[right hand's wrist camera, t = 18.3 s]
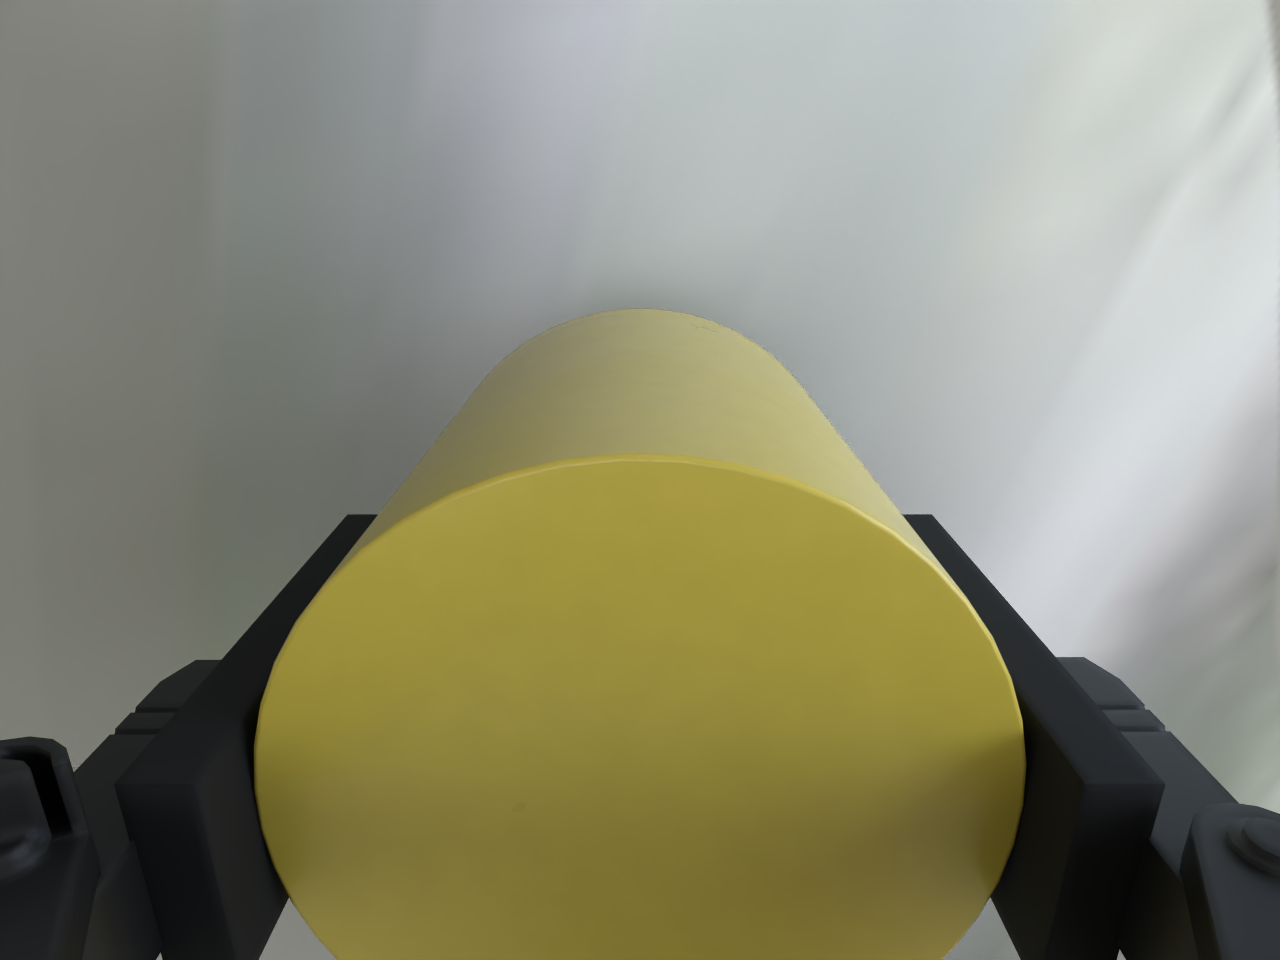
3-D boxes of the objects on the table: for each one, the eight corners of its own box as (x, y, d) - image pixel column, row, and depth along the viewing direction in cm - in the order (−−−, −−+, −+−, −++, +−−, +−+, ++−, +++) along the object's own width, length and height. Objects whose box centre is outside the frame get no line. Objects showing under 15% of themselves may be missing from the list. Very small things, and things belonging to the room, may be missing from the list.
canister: (828, 668, 19) (984, 1071, 10) (466, 681, 19) (325, 1088, 10) (846, 299, 16) (1082, 436, 7) (417, 316, 16) (167, 472, 7)
